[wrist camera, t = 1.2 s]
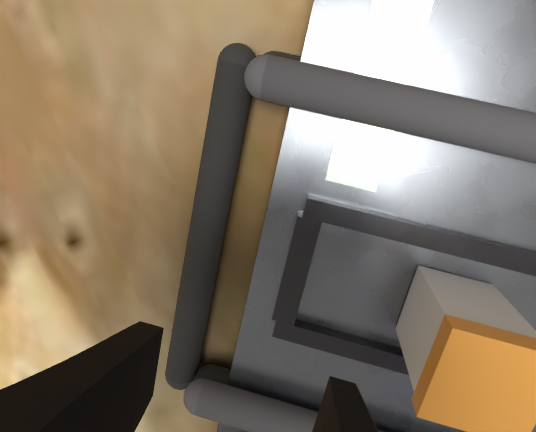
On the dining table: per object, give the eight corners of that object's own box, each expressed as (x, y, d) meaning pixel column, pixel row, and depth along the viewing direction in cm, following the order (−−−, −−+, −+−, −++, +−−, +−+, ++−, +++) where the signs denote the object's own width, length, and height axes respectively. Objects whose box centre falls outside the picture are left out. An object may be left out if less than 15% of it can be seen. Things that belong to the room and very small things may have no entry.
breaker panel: (510, 533, 21) (529, 579, 19) (217, 442, 22) (205, 475, 20) (781, 45, 14) (858, 34, 12) (327, -43, 15) (327, -66, 13)
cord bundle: (577, 492, 19) (621, 561, 16) (170, 371, 21) (144, 413, 18) (774, 161, 15) (887, 175, 12) (227, 42, 16) (204, 28, 13)
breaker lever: (467, 350, 17) (523, 448, 12) (392, 329, 17) (416, 416, 12) (496, 283, 16) (569, 359, 11) (416, 262, 16) (452, 327, 11)
